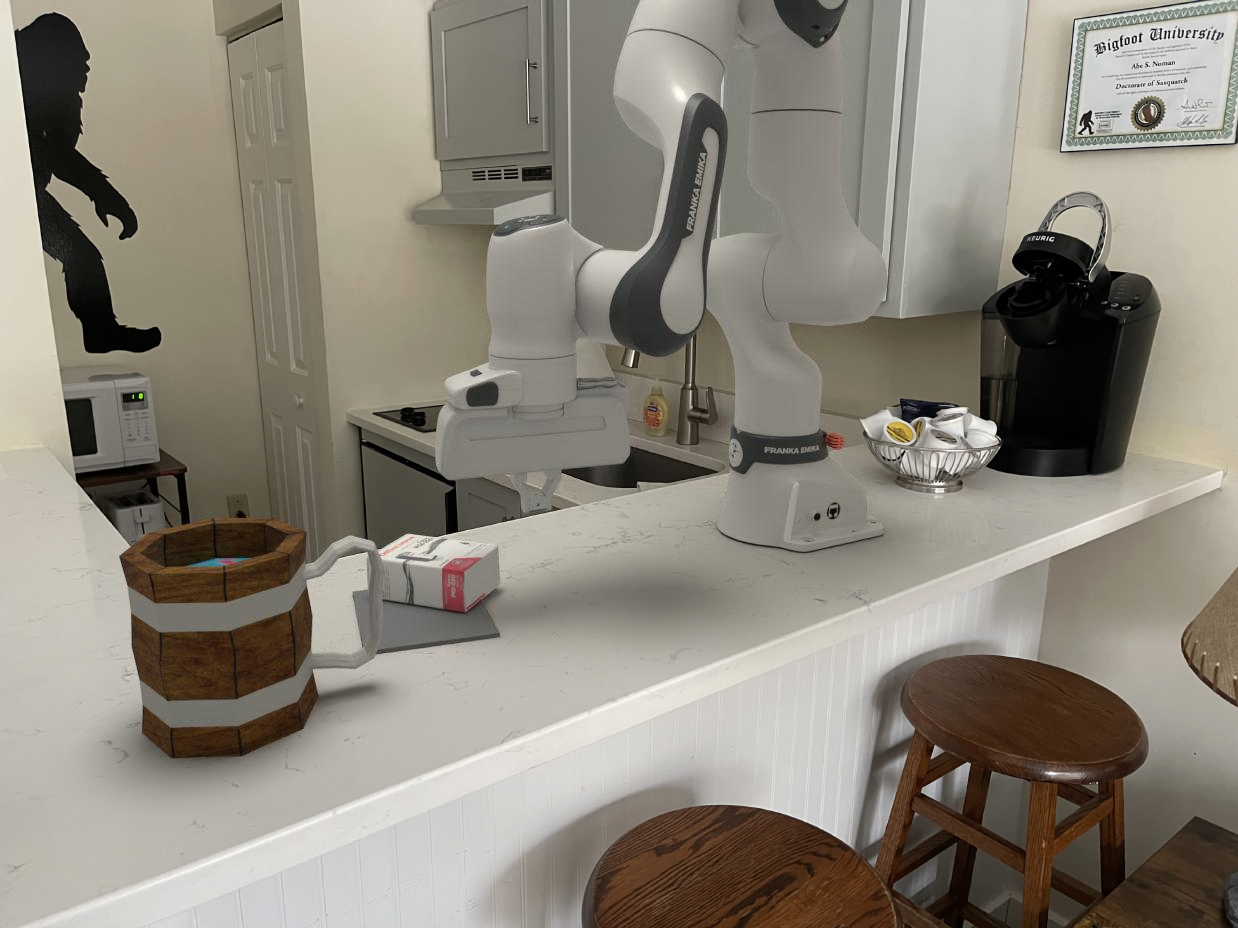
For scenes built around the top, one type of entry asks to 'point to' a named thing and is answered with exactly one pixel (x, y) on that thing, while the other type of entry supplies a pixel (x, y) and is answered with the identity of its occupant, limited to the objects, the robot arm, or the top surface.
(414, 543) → the ink box
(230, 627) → the mug
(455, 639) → the mat
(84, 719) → the top surface
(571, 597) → the top surface
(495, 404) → the robot arm
